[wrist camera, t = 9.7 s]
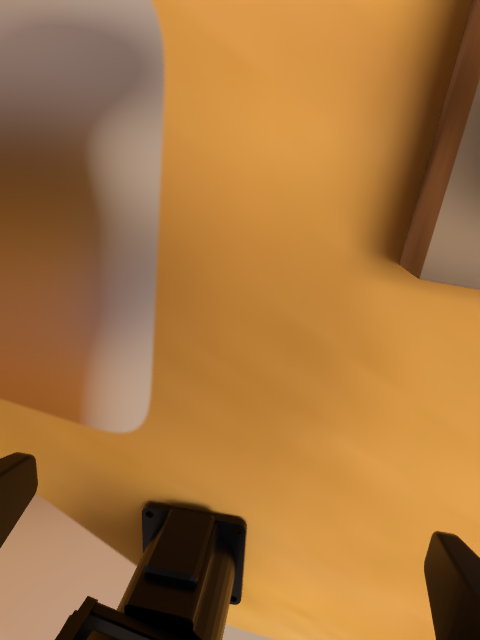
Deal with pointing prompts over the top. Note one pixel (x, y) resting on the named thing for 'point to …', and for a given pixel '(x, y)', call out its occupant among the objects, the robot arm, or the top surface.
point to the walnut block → (452, 180)
